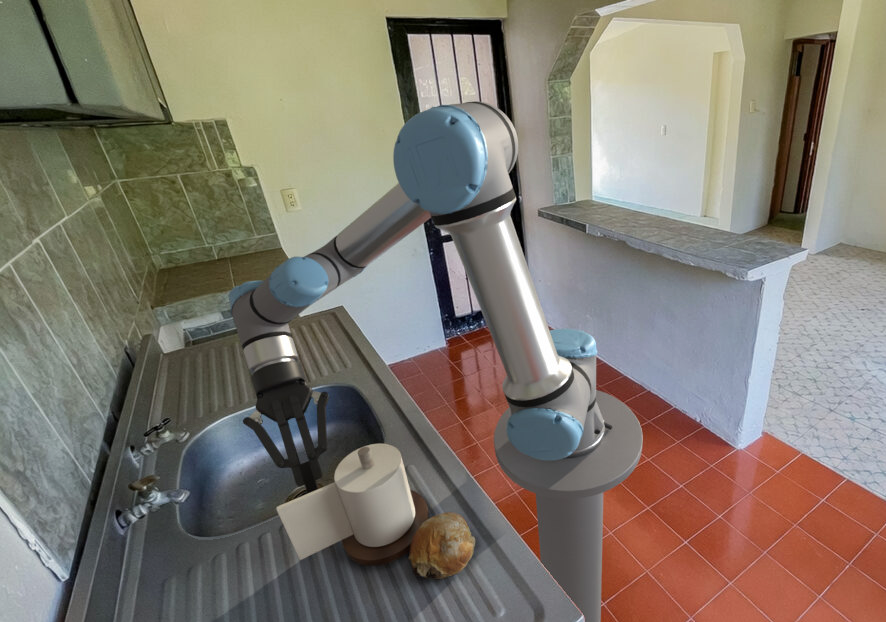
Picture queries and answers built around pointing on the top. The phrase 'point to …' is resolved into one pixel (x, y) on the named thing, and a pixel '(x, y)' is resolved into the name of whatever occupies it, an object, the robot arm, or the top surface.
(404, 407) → the top surface
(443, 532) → the bread roll
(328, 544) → the paper towel roll
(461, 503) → the top surface
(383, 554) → the towel holder
